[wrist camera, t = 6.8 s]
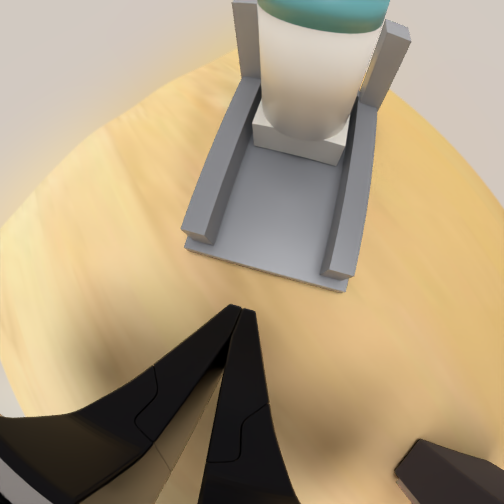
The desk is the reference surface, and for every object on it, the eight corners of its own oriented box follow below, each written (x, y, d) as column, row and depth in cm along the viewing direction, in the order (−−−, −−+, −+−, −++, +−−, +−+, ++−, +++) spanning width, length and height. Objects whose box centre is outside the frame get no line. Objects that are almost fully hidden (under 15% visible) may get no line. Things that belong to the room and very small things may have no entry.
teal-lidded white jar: (335, 172, 15) (398, 24, 5) (252, 151, 16) (233, -8, 6) (345, 112, 16) (387, -20, 6) (272, 95, 17) (270, -44, 6)
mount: (340, 292, 15) (422, 275, 6) (188, 250, 16) (110, 191, 7) (369, 124, 17) (413, 29, 8) (247, 94, 18) (235, -9, 9)
